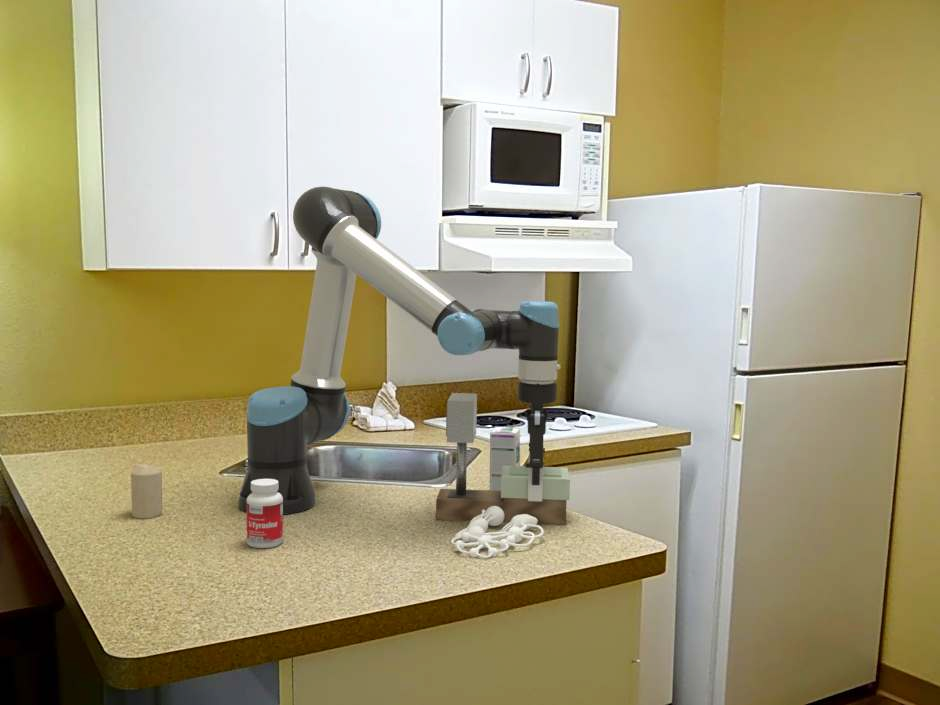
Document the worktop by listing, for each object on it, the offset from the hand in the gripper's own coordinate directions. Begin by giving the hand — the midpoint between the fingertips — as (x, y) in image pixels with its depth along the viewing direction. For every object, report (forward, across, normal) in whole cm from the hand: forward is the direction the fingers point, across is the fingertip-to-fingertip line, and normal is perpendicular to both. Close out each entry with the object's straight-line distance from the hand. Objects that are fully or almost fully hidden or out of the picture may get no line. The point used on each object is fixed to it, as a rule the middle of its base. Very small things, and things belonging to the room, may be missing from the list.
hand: (534, 493), depth 165 cm
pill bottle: (+5, -22, +47) cm, 52 cm away
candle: (+5, -8, +75) cm, 75 cm away
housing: (+5, 0, +6) cm, 8 cm away
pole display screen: (+1, 0, +14) cm, 15 cm away
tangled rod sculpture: (+5, -15, +6) cm, 17 cm away
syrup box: (+5, +15, +6) cm, 17 cm away
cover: (0, 0, 0) cm, 0 cm away
